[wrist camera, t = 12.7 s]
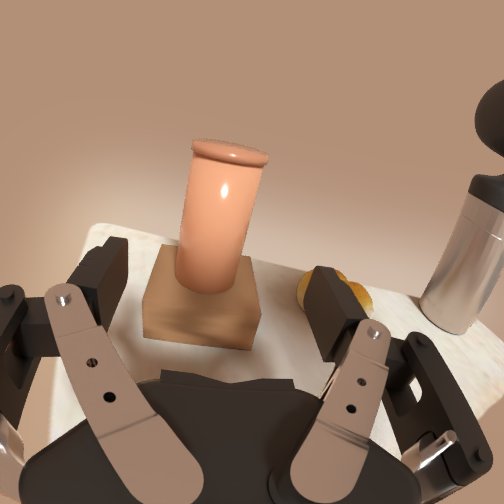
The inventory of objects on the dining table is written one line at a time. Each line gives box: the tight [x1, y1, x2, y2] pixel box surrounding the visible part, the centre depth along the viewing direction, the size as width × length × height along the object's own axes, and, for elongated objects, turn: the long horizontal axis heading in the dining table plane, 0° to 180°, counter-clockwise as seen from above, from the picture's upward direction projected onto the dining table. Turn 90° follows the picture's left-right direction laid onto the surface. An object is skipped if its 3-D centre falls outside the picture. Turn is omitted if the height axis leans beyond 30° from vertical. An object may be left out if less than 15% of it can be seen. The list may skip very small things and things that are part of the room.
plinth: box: [142, 244, 261, 350], centre depth 26 cm, size 9×9×4 cm
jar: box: [175, 139, 269, 294], centre depth 22 cm, size 6×6×11 cm
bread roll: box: [297, 269, 374, 318], centre depth 31 cm, size 8×9×4 cm
